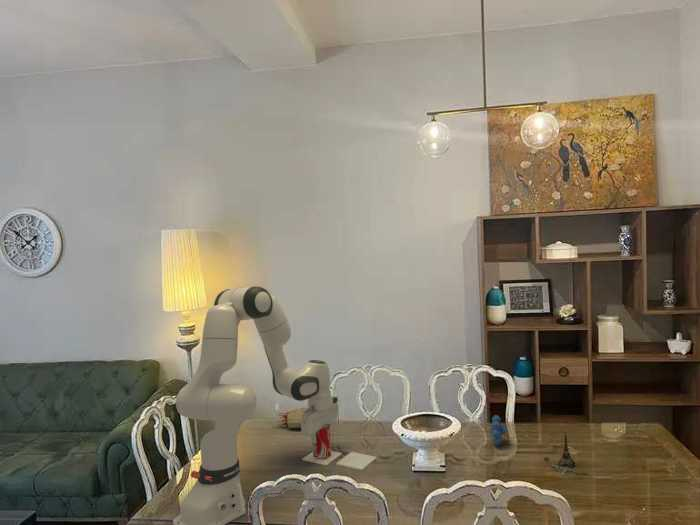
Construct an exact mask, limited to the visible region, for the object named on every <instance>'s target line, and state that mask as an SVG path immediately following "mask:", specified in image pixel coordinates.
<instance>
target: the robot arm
mask: <svg viewBox="0 0 700 525" xmlns="http://www.w3.org/2000/svg"><path fill="white" fill-rule="evenodd" d="M249 320H253V322H254V325H255V327H256V330H257V333H258V336H259V338H260V340H261V342H262V344H263V349H264V352H265V355H266V357H267V361H268V364H269V366H270V370H271V373H272V387H273V389H274V391H275V392H276V393H277V394H279V395H283V396H286V397H288V398H290V399H292V400H295V401H300V402H303V401H306V400H307V408H308V409H306V410H305V412H304V414H303V416H302V421H301V428H300V432H301V434H302V435H305V436H309V437H310V438H311V444H312V443H316V442H318V438H317V437H316V436H315V434H316V431H318V430H320V429H321V428H323V427H324V426H326V425H327V424H328V426H329V428H330V429H331V428H332V423H333V422H335V421H336V420H338V417H339V404H338V402H339V397H338V395H337V396H336V395H332V394H331V391H330V385H331V377H330V376H331V375H330V370H329V365H328V363H327V362H326V361H323V360H320V359H319V360H318V359H311V360H308V361H307V363H306V364H305V366H303V367H302V368H301V369H300V370H299V371H296V370H294V369H293V368H291V366H290V365H289V364H288V362H287V358H286V356H285V353H284V349H283V346H285V345H286V344H287V343H288V342H289V341H290V339H291V336H292V331H291V325H290V323H289V321H288V318H287V316H286V314H285V312H284V309H283V307H282V306H281V303H280V302H279V301H278V299H277V298H276V297H275V296H274V295H273V294H270V293H269V291H268V290H267V289H266V288H264V287H263V286H262V287H261V286H255V285H254V286H238V287H233V288H227V289H224V290H222V291H220V292H218V294H217V296H216V298H215V299H214V302H213V305H212V306H211V307H210V308H208V310H207V312H206V316H205V319H204V323H203V324H204V325H203V331H202V341H201V350H200V357H199V363H198V367H197V369H196V371H195V373H194V375H193V376H192V377H191V379H190V381H189V382H188V383H187V384H185V385H184V386H183V387H182V388H181V389H180V390H179V392H178V393H177V396H176V398H175V407H176V410H177V412H178V413H179V415H180V416H182V417H185V418H188V419H190V420H191V419H192V420H197V421H198V420H199V421H200V420H201V421H203V420H204V421H214V428H213V429H212V430H210V431H208V432H206V433H205V434H204V435H203V436H202V438H201V440H200V444H199V445H200V446H199V448H200V466H199V470H198V471H196V470H191V472H190V478H192V479H196V482H195V483H194V485H193V486H192V487H191V488H190V490H189V492H188V493H187V494H186V496H185V497H184V498H183V499H182V502H181V507H180V513H179V514H178V515H177V516H176V517H175V518H174V519H173V520H172V525H226V524H228V523H230V522H232V521H234V520H236V519H238V518H240V517H242V516H244V515H245V514H246V513H247V508H246V503H247V502H246V499H245V498H244V497H245V496H244V493H243V489H242V485H241V479H240V472H241V470H240V469H241V465H240V460H239V458H238V436H239V432H240V430H241V427H242V425H244V423H245V422H246V421H247V420H249V419H250V418H251V417H252V415H253V414H254V413H255V410H256V408H257V397H256V394H255V391H254V390H253V389H252V388H251V387H249V386H245V385H240V384H235V383H234V384H231V383H229V384H228V383H220V380H221V378H222V377H223V375H224V373H226V372H229V371H230V370H231V369H233V367H235V365H236V364H237V360H238V346H239V345H238V344H239V342H238V341H239V325H240V323H241V321H249Z"/></svg>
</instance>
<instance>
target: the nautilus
mask: <svg viewBox="0 0 700 525" xmlns="http://www.w3.org/2000/svg"><path fill="white" fill-rule="evenodd" d="M306 409H308V407H301V408H300V407H299V408H298V409H293V410H291V411H287V412H282V413H281V412H280V414H279V416H278V419H282V420H279V421H278V420H277V423H279V422H280V424H278V426H277V424H271V425H270V426H272V427H275V426H277V427H275V428H281V429H287V428H289V429H301V421H302V416H303V414H304V412H305V410H306ZM271 419H274V417H273V418H271Z"/></svg>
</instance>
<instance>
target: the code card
mask: <svg viewBox="0 0 700 525" xmlns="http://www.w3.org/2000/svg"><path fill="white" fill-rule="evenodd" d="M342 454H343V453H342V452H339V451H336V450H335V451H333V450H331V455H330V456H328V457H327V458H325V459H318V458H316V457H314V455H313V451H312V452H310V453H309V454H307V455H306V456H304V457H303V458H302V459H301V461H304V462H305V461H306V462H309V463H314V464H319V465H322V466H328V465H329V464H330V463H332V462H333V461H335V460H336V459H337V458H339V457H340V456H341V455H342Z"/></svg>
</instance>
